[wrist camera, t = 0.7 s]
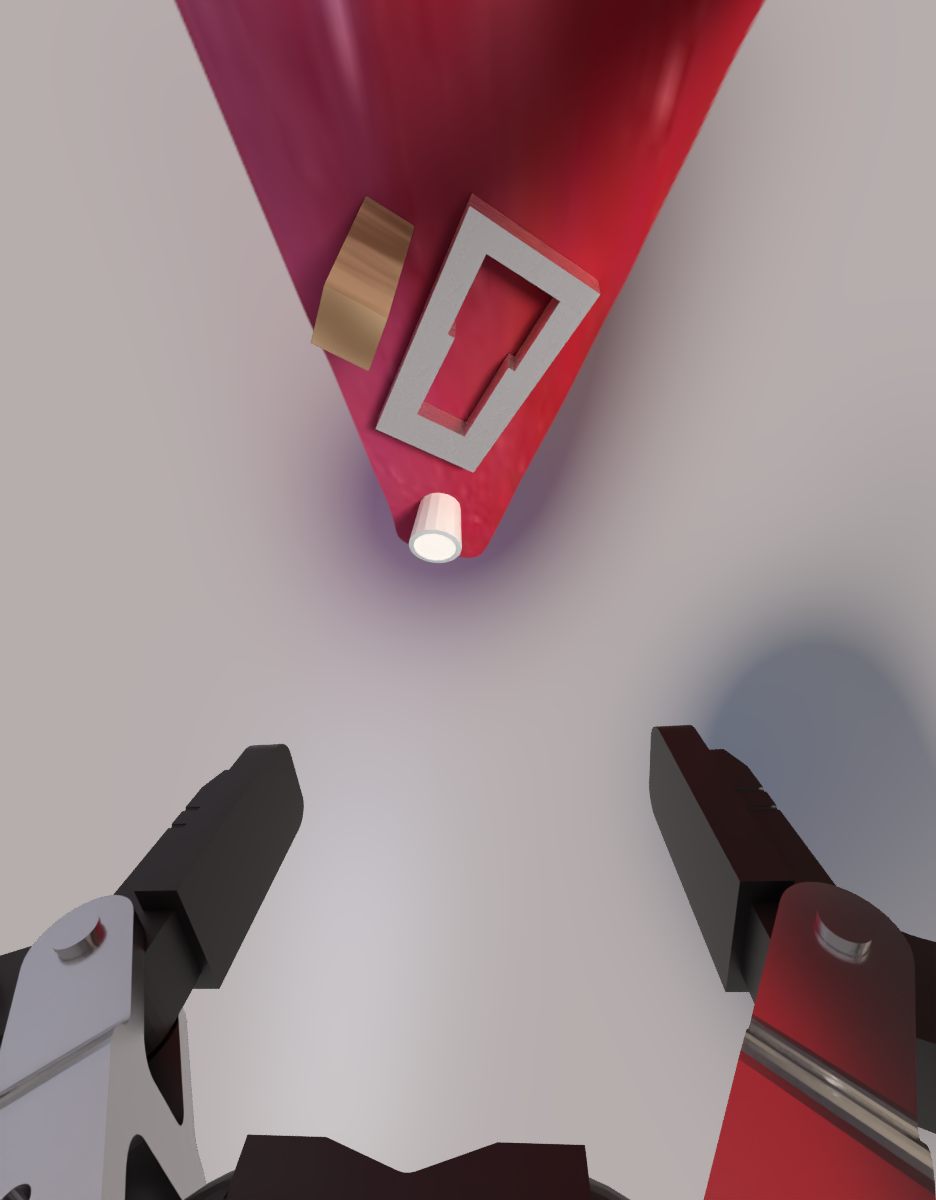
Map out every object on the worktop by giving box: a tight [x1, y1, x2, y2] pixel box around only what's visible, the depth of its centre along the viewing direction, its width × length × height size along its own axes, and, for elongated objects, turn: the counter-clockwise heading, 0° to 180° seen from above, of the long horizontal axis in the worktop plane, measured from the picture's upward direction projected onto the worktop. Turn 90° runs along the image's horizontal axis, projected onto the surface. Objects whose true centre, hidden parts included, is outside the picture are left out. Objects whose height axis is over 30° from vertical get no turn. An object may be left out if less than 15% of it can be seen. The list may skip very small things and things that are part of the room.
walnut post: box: [311, 196, 415, 371], centre depth 34 cm, size 4×4×14 cm
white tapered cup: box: [409, 493, 462, 563], centre depth 62 cm, size 7×7×7 cm
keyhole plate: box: [376, 193, 600, 472], centre depth 45 cm, size 22×12×2 cm, turn 153°
